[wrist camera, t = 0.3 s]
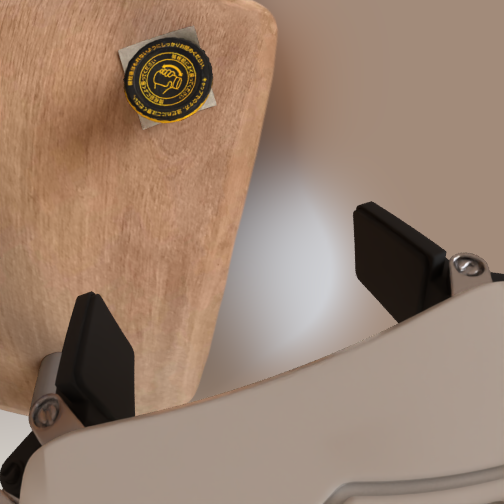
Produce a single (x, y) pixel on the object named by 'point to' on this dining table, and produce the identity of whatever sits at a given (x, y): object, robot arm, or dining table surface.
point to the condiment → (167, 77)
